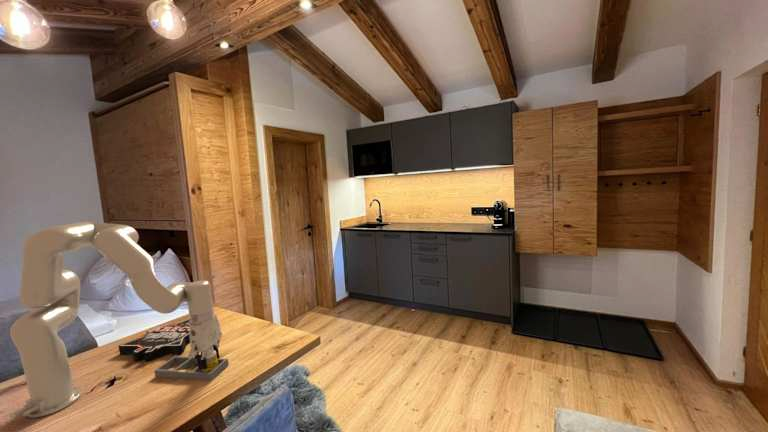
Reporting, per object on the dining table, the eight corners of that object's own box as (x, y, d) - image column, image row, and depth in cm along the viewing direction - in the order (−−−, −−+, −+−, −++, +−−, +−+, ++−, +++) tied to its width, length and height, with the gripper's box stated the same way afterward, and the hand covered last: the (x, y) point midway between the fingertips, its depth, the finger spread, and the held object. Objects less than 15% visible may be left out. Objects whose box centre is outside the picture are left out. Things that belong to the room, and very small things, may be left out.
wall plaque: (105, 353, 123) (165, 318, 152) (107, 363, 123) (166, 326, 153) (170, 353, 120) (218, 317, 150) (171, 363, 121) (219, 325, 150)
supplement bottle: (213, 365, 116) (209, 341, 115) (221, 369, 114) (218, 344, 112) (198, 374, 112) (195, 349, 110) (207, 378, 109) (203, 352, 108)
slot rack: (211, 380, 107) (210, 373, 107) (155, 376, 112) (153, 369, 111) (228, 364, 116) (227, 357, 116) (176, 361, 121) (175, 355, 120)
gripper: (192, 328, 101) (200, 379, 103) (227, 305, 117) (233, 350, 120) (172, 327, 102) (180, 378, 104) (210, 305, 119) (216, 349, 121)
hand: (209, 362), depth 112 cm, fingers closed on supplement bottle, 5 cm apart
